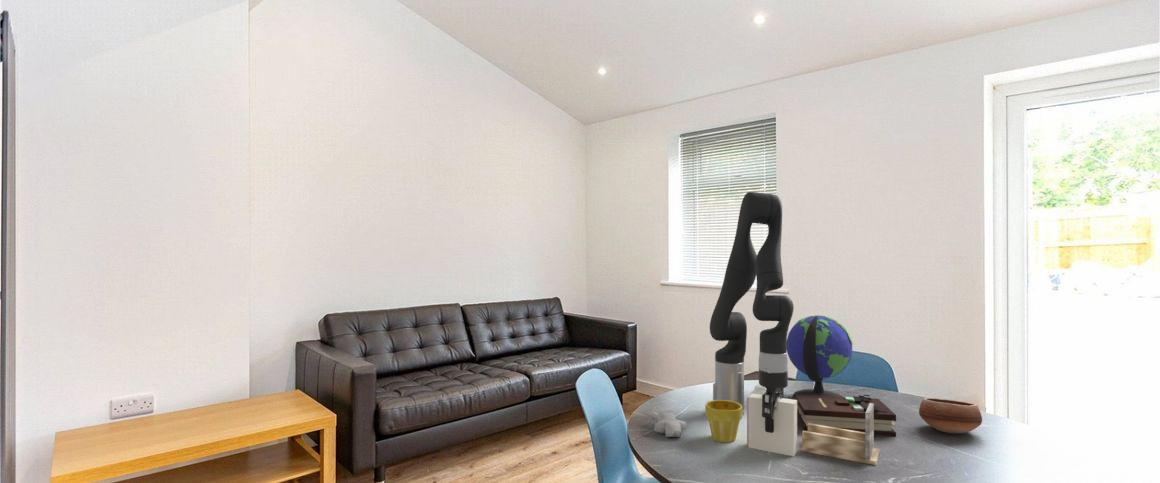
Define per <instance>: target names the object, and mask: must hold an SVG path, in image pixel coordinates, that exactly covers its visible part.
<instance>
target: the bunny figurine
mask: <svg viewBox="0 0 1160 483" xmlns="http://www.w3.org/2000/svg"><path fill="white" fill-rule="evenodd" d="M648 416H649V417H651V418H652V419H655V420H656V421H657V422H655V423H654V432H656V433H661V434H665V435H664V437H665V438H681V437H682V435H683V434H682V433H683V431H686V430H687V422H686V421H683V420H680V419H677V418H676V414H675V412H674V411H673V410H670V409H669V410H667V411H665V412H657V411H654V410H653V411H650V413H649V415H648Z"/></svg>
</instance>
